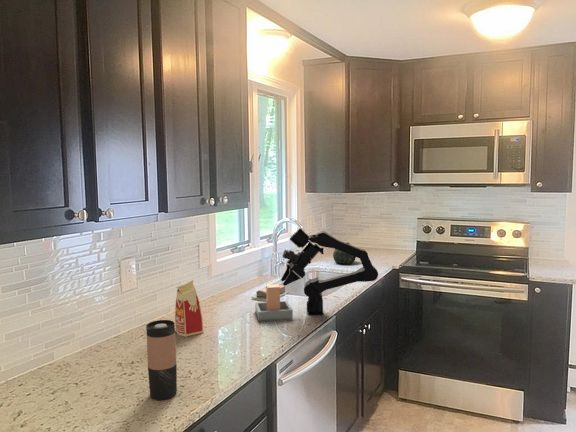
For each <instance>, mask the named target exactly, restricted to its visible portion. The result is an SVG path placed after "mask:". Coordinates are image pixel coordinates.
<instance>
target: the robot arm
mask: <svg viewBox="0 0 576 432" xmlns="http://www.w3.org/2000/svg"><path fill="white" fill-rule="evenodd" d="M289 241H290V242H291V243H293V244H294V245H295V246H296V247H297V248H299V249H300V248H302V251H300V252H297V253H296V252H294V250H287V249H284V251H283V254H282V258H283V259H287V261H286V263H285V264H286V269H285V271H284V273H283V275H282V276H281V279H280V281H281V282H283V283H282V285H283V286H285V287H286V286H288V285H289V284H291V283H293V282H294V283H295V282H296V281H298V280H301V279H303V278H304V277H305V276H306V272H305V270H306V269H305V268H306V267H307V266H308V265H310V264H311V263H312V260H314V259H315V257H316V256H317V255H318V254H319V253H320V254H321V255H324V254H325V253H324V248H329V249H330V248H331V249H334V250H335V249H337V250H340V251H342V252H345V253H347V254H350V255H352V256H355V257H356V258H358V259H359V260H360V262H361V265H362V267H360V268H359V269H357V270H356V271H353V272H349V273H346V274H342V275H338V276H334V277H331V278H327V279H319V277H318V276H316V277H314V278H308V280H307V281H305V283H304V286H303V293H304V294H305V296H306V297H307V301H306V313H307V315H309V316H310V315H311V316H312V315H314V316H316V315H324V309H323V308H324V298H323V292H325V291H327V290H330V289H335V288H339V287H341V286H343V287H344V286H347V285H350V284H353V283H357V282H360V283H362V282H363V283H369V282H374V281H376V280H378V277H379V271H378V270H377V268H376V266H374V265H373V264H372V261H371V259H370V257H369V255H368V252H367V250H366V249H362V248H359V247H357V246H355V245H352V244H351V243H349V244H347V243H348V242H344V241H342V240H339V239H337V238H336V237H334V236H332V235H331V234H330V233H328V232H326V231H324V230H320V231H318V232H317V233H316V234H311V235H308V233H307V232H305V231H304V230H303V228H301V227H300V228H299V229H297V231H296V232H294V233H293V234H292V235H291V236H290V238H289Z"/></svg>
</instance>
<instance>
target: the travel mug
mask: <svg viewBox="0 0 576 432" xmlns="http://www.w3.org/2000/svg"><path fill="white" fill-rule="evenodd" d="M145 328H146V350H147V351H146V352H147V372H148V373H147V374H148V385H149V386H148V388H149V397H150V398H151V399H152V400H153V401H166V400H170V399H172V398H174V397H176V395H177V393H178V392H177V390H178V389H177V388H178V387H177V386H178V384H177V382H178V381H177V379H178V378H177V377H178V373H177V372H178V371H177V369H178V368H177V347H176V330H175V321H173V320H170V319H158V320H154V321H150V322H148V323H147V324H146V327H145Z"/></svg>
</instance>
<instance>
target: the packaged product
mask: <svg viewBox="0 0 576 432" xmlns="http://www.w3.org/2000/svg"><path fill="white" fill-rule="evenodd" d="M277 284H278V283H277ZM278 285H279V287H280V298H281V297H283V296H285V295H288V294H289V291H286V285H285V286H284V285H283V284H278ZM251 300H254V301H261V302H267V294H266V287H264V288H260V289H258V290H257V291H256V294H255V295H253V296H251Z"/></svg>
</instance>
